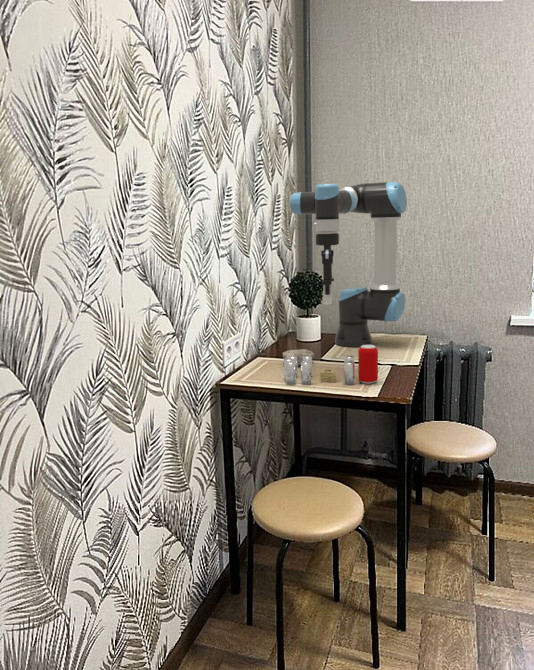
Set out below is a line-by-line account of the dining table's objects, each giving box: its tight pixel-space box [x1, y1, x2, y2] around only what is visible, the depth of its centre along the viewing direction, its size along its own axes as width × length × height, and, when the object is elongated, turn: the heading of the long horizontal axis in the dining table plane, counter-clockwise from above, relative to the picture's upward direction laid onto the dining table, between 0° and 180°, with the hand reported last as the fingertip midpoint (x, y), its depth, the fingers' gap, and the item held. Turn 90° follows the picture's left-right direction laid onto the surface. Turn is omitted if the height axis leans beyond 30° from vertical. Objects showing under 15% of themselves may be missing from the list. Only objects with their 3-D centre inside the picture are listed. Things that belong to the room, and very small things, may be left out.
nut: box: [319, 368, 337, 383], centre depth 204 cm, size 5×5×4 cm
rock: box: [282, 348, 315, 367], centre depth 225 cm, size 11×11×6 cm
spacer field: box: [283, 355, 356, 386], centre depth 204 cm, size 11×28×7 cm, turn 83°
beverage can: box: [357, 344, 379, 385], centre depth 199 cm, size 6×6×12 cm
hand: (327, 302), depth 205 cm, fingers open, 7 cm apart
